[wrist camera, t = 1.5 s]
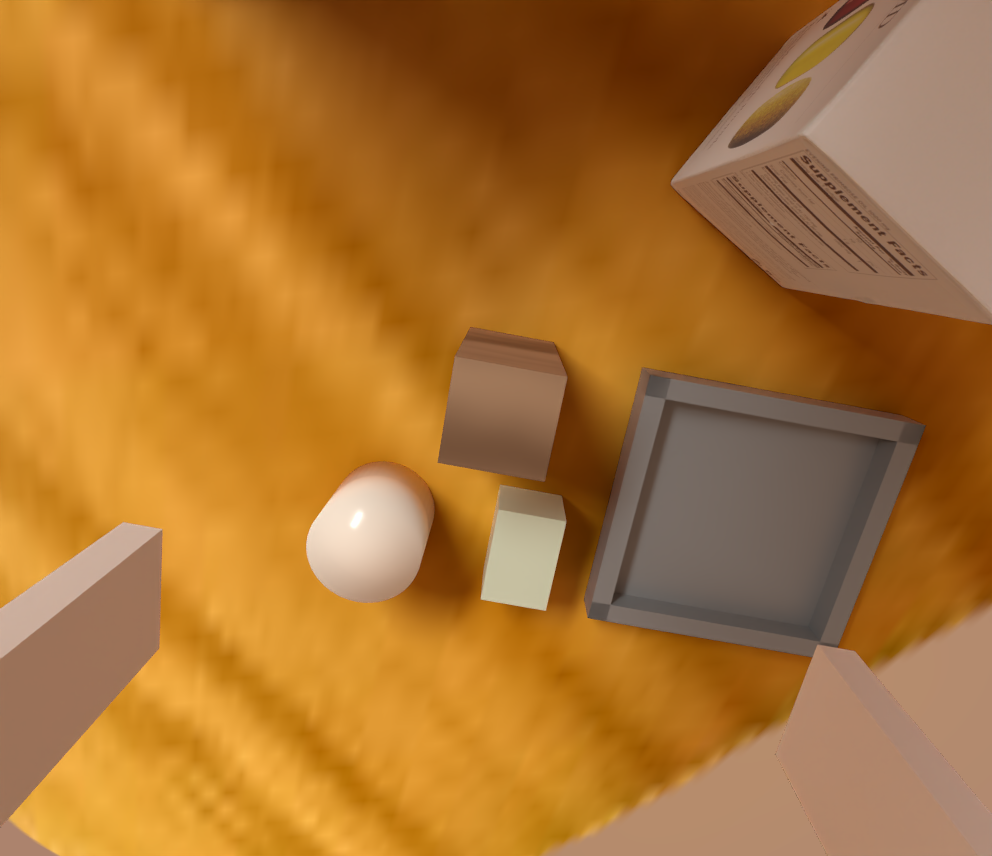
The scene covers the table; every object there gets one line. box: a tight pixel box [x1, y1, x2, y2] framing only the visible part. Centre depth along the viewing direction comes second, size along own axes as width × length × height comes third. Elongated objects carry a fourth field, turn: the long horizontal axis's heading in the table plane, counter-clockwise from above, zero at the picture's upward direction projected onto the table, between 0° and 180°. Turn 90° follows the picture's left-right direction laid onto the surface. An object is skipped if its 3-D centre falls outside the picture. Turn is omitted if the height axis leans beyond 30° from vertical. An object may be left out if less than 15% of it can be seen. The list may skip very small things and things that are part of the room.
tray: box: [584, 367, 926, 657], centre depth 38 cm, size 16×16×2 cm
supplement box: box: [671, 0, 992, 325], centre depth 25 cm, size 10×9×17 cm
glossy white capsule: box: [306, 462, 435, 603], centre depth 37 cm, size 6×6×6 cm
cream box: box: [481, 485, 567, 611], centre depth 38 cm, size 6×4×4 cm, turn 170°
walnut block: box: [438, 327, 567, 482], centre depth 32 cm, size 5×5×10 cm
